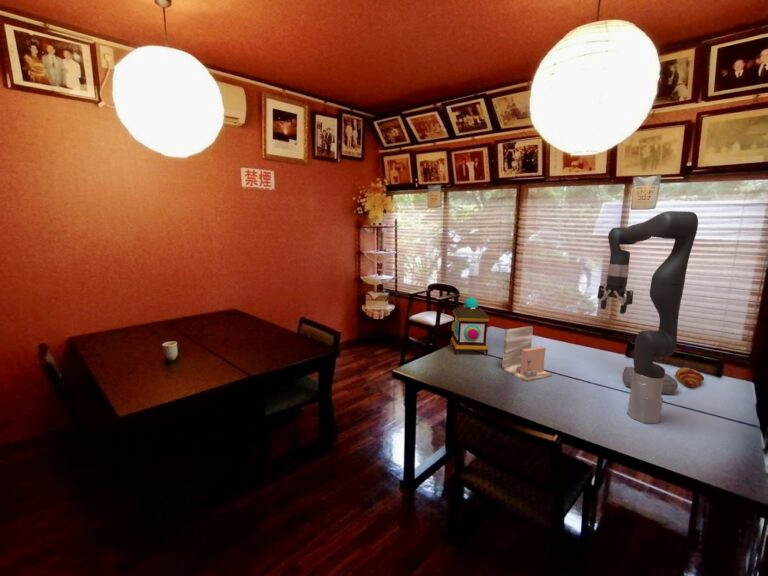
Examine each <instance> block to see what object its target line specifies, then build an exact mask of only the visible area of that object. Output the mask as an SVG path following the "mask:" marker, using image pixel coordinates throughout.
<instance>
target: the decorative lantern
mask: <svg viewBox="0 0 768 576" xmlns="http://www.w3.org/2000/svg"><path fill="white" fill-rule="evenodd" d="M478 305H479V303H478V300H477V299H476V298H474V297H472V296H471V297H468V298H467V299H466V300H465V301H464V304H462V305H461V306H459V307H455V308H454V309H452V313H453V321H452V322H451V327H450V328H451V331H452V333H453V334H452V336H451V338H450V345H451V346H453V348H454V354H455V355H456V356H458V353H459V351H473V352H474V351H475V352H478V351H479V352H482V351H483V352H484V356H488V353H489V351H488V350H489V349H488V346H487V334H488V333H487V332H488V323H489V321H490V319H491V318H490V317H489V315H488V314H487V313H486V312H485V311H484V310H483V309H482V308H480V307H479V306H478Z"/></svg>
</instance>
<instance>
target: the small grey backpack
mask: <svg viewBox="0 0 768 576" xmlns="http://www.w3.org/2000/svg"><path fill="white" fill-rule="evenodd" d="M633 372H634V366H633V367H632V366H631V367H630V366H628V367H627V366H626V367H624V368H623V371H622V382H623V384H624V385H625V387H627V388H630V389H631V385H632V378H633ZM678 386H679V385H678V380H677V379H675V378H673V377H672V376H671V375H669V374H668V373H666V372H665V376H664V382H663V387H662V393H661V395H674V394H675V392H676V390H677V389H678Z"/></svg>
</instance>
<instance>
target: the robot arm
mask: <svg viewBox="0 0 768 576" xmlns="http://www.w3.org/2000/svg"><path fill="white" fill-rule="evenodd" d="M698 227H699V217H698V216H697V214H696V213H695V212H693V211H680V210H679V211H674V210H671V211H663V212H660V213H659V214H656V215H655V216H653V217H651V218H649V219H647V220H646V221H644V222H640V223H635V224H632V225H629V226H627V227H613V228H611V229H610V231H609V232H608V235H607V236H608V237H607V239H608V243H609V244H608V246H609V250H610V255H609V257H610V258H609V264H608V267H607V273H606V274H607V275H606V283H605V284H606V285H605V284H603V285H599V286H598V291H597V296H596V297H597V299H599V300H600V308H601V310H606V309H607V305H608V299H610V298H614V299H617V300H618V301H619V303H620V304H621V305H620V310H619V314H621V315H624V314H625V313H626V312H627V307H628V306H629V305H633V299H634V290H627V289H626V288H627V285H628V278H629V270H630V269H629V268H630V267H629V266H630V259H631V258H630V257H631V252H630V251H628V250H626V249H622V248H621V246H620V245H623V246H624V245H634V244H637V243H639V242H645V241H647V240H649V239H651V238H658V239H666V240H674V243H673V247H672V250H671V252H670V253H669V255H668V256H667V258H665V260H664V261H663V262H662V263H661V264H660V265H659V266H658V267H657V269H656V270H655V271H654V273H653V275H652V276H651V282H650V288H649V296H650V297H649V298H650V300H651V303H652V304H653V305H654V308H655V309H656V312H657V314H658V319H659V325H658V326H659V327H658V330H640V331H639V332H638V333H637V334H636V336H635V339H634V340H635V341H634V353H633V367H634V372H633V378H632V385H631V388H630V391H629V392H630V393H629V398H628V403H627V404H628V406H627V413H626V414H627V415H628V416H629V417H630V418H632V419H634V420H635V421H639V422H641V423H643V424H651V423H653V424H657V423H658V424H659V423H660V418H661V411H662V407H663V401H664V399H663V398H662V394H661V393H662V387H663V382H664V376H665V373H666V369H665V368H664V367H663V366H661V365H660V364H657V363H654V357H656V358H659V357H660V358H667V357H671V356H672V355H674V353H675V351H676V347H677V339H678V327H679V326H678V325H679V324H678V323H679V314H680V310H681V309H680V307H681V302H682V298H683V293H684V289H685V282H686V274H687V269H688V264H689V259H690V255H691V252H692V249H693V246H694V243H695V239H696V235H697V231H698ZM605 291H606V292H605Z"/></svg>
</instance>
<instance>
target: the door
mask: <svg viewBox="0 0 768 576" xmlns="http://www.w3.org/2000/svg"><path fill="white" fill-rule="evenodd" d="M545 359H546V347H544V346H542V345H541V346H535V347H531V348H528V349H522V357H521V368H520V374H521V375H523V376H525V371H530V370H536V371H537V373H541V372H543V370H544V366H545Z"/></svg>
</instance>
